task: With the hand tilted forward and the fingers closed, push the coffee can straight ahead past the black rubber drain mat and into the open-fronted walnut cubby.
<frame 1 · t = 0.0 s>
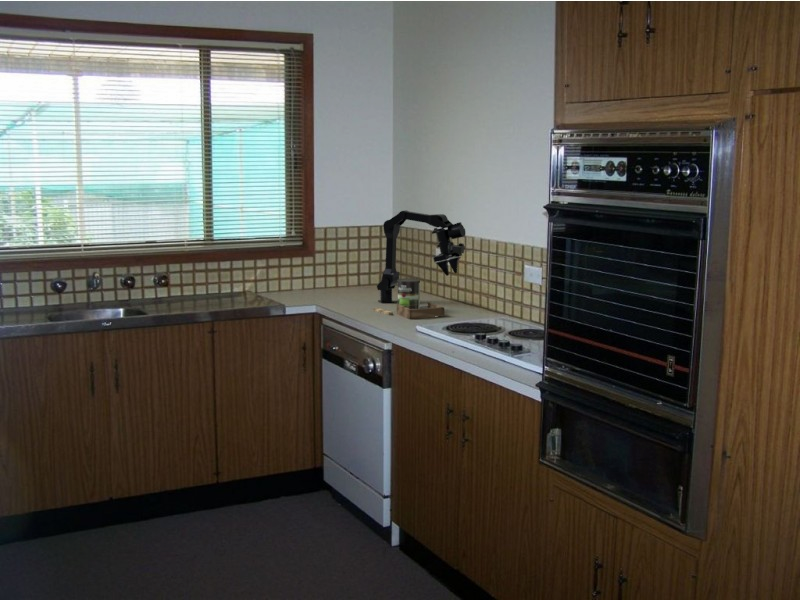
hand: (451, 274, 423), 15 cm above the countertop, tool pointing down, fingers open, 9 cm apart
coffee can: (408, 310, 418), on the countertop
walnut cubby: (419, 314, 406), on the countertop
drain mat: (429, 308, 423), on the countertop
oak stirring stick: (382, 313, 412), on the countertop
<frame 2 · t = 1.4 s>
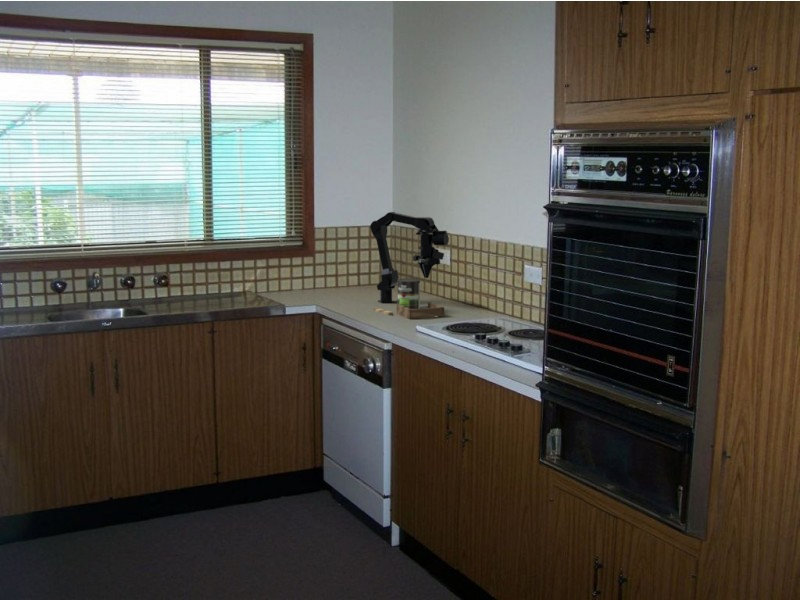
hand: (426, 277, 429), 13 cm above the countertop, tool pointing down, fingers closed
nothing on the countertop moved.
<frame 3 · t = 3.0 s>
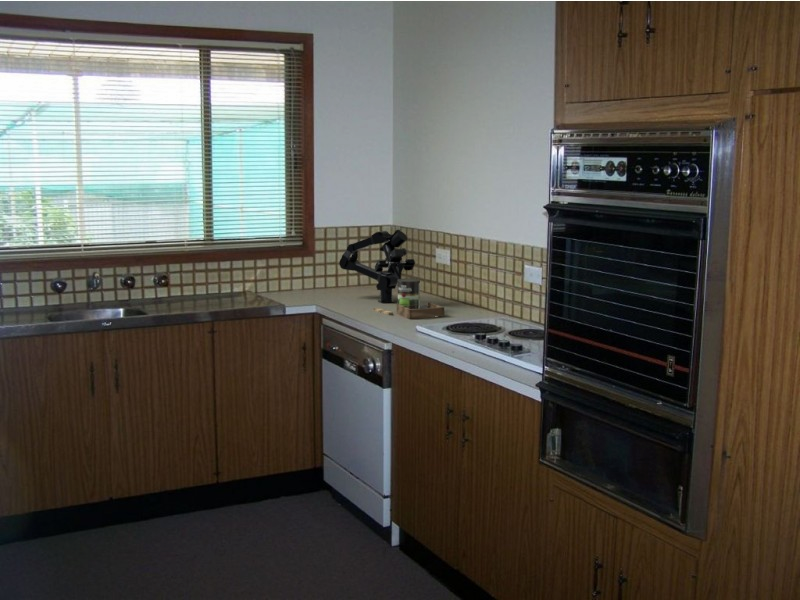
hand: (399, 279, 426), 13 cm above the countertop, tool tilted 45°, fingers closed
nothing on the countertop moved.
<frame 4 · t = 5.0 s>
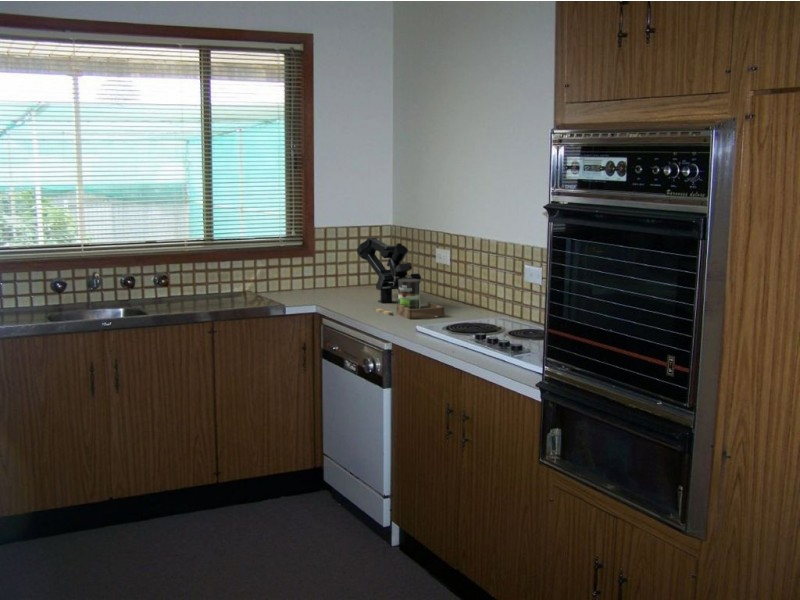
hand: (405, 294, 420), 7 cm above the countertop, tool tilted 45°, fingers closed, pressing on coffee can
coffee can: (409, 310, 417), on the countertop, touching gripper
everything else where it was.
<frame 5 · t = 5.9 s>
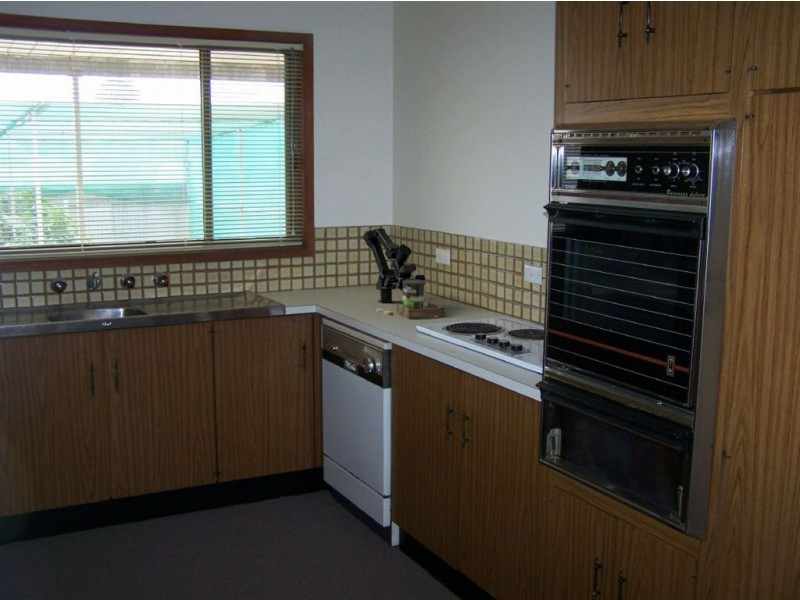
hand: (409, 295, 416), 7 cm above the countertop, tool tilted 45°, fingers closed, pressing on coffee can
coffee can: (413, 312, 413), on the countertop, touching gripper
everything else where it was.
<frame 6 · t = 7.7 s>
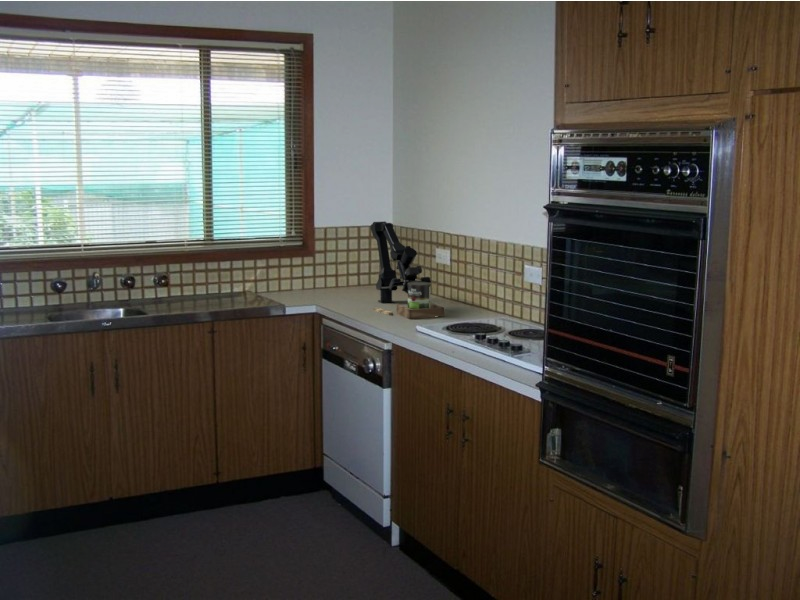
hand: (415, 298, 410), 7 cm above the countertop, tool tilted 45°, fingers closed, pressing on coffee can
coffee can: (419, 314, 407), on the countertop, touching gripper
everything else where it was.
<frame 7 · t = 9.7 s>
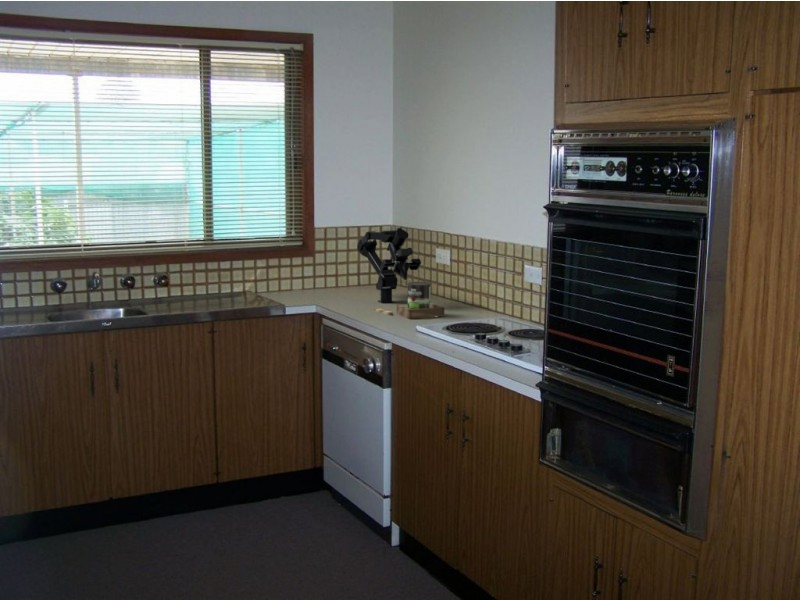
hand: (405, 279, 420), 14 cm above the countertop, tool tilted 45°, fingers closed
coffee can: (419, 315, 407), on the countertop
everything else where it was.
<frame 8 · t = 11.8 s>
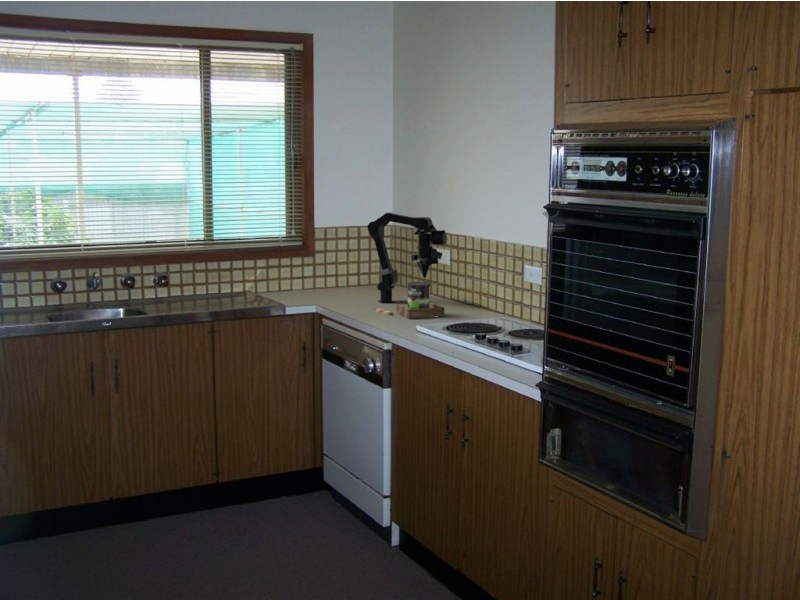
hand: (424, 277, 431), 13 cm above the countertop, tool pointing down, fingers closed
nothing on the countertop moved.
at the end: coffee can 0.4 cm from the walnut cubby (horizontally); coffee can tilted 0°; coffee can moved 12.1 cm from its start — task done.
